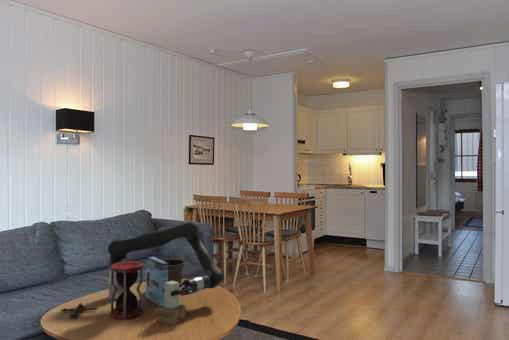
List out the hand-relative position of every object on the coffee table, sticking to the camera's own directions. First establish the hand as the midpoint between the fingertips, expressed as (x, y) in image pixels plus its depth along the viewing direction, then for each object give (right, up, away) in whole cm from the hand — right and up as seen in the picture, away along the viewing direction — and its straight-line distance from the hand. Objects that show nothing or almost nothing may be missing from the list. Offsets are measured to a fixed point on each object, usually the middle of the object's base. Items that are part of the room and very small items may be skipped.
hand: (167, 292), depth 201 cm
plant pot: (-9, -13, +54) cm, 56 cm away
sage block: (+1, -7, +2) cm, 8 cm away
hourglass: (-23, -13, +9) cm, 28 cm away
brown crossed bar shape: (-47, -14, +8) cm, 50 cm away
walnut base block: (+1, -14, +2) cm, 14 cm away
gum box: (-12, -13, +29) cm, 34 cm away
